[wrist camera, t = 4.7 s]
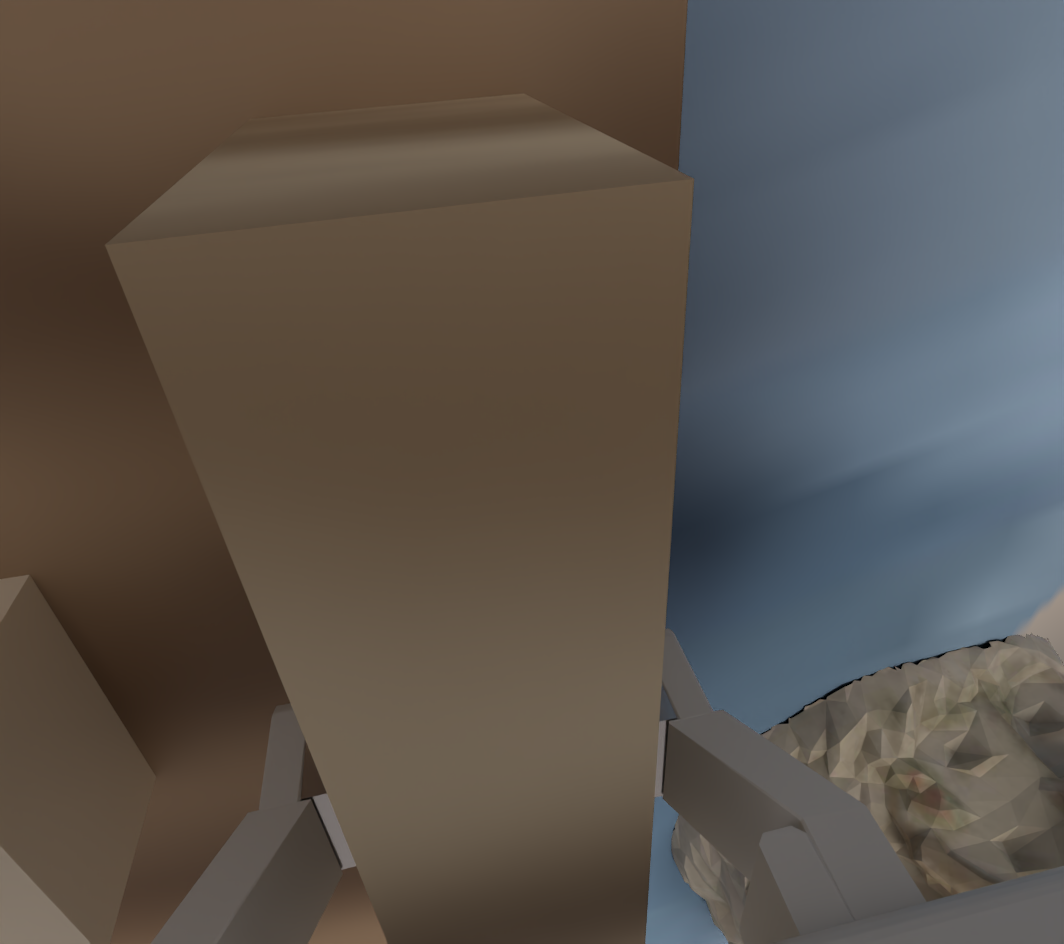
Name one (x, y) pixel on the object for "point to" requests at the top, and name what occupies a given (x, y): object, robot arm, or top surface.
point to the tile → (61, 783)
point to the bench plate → (128, 372)
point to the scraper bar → (444, 482)
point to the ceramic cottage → (930, 770)
